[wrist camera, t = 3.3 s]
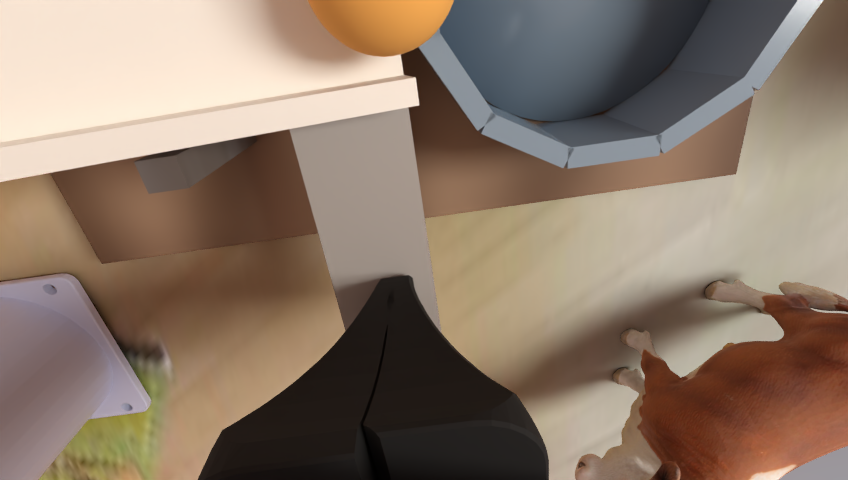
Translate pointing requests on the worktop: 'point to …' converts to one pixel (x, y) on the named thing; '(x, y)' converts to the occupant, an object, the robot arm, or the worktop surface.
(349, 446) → the robot arm
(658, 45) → the bowl
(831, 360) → the bull figurine
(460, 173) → the base board
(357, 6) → the ball
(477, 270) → the worktop surface
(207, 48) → the tilted wooden ramp
